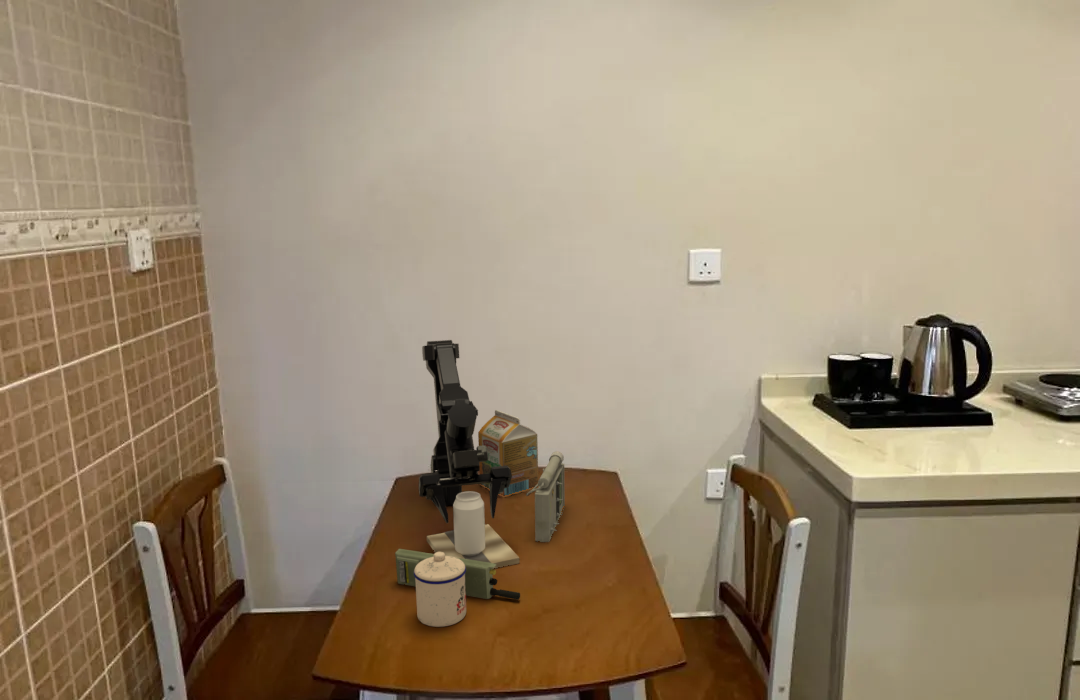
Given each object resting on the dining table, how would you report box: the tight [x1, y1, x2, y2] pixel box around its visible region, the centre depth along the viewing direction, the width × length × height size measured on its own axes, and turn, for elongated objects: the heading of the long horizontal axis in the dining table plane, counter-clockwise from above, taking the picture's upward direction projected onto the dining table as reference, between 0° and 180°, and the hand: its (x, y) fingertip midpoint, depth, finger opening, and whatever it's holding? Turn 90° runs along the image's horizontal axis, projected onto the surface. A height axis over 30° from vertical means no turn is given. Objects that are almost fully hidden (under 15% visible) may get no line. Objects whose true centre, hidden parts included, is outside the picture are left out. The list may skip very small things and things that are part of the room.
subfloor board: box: [426, 523, 520, 570], centre depth 166 cm, size 18×14×1 cm
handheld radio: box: [394, 548, 521, 601], centre depth 150 cm, size 7×3×25 cm
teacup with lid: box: [414, 552, 467, 628], centre depth 142 cm, size 12×9×12 cm
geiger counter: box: [525, 450, 566, 543], centre depth 181 cm, size 14×6×25 cm
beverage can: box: [452, 490, 486, 556], centre depth 162 cm, size 6×6×12 cm
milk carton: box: [477, 409, 539, 496], centre depth 200 cm, size 11×11×19 cm
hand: (470, 520), depth 160 cm, fingers open, 9 cm apart
